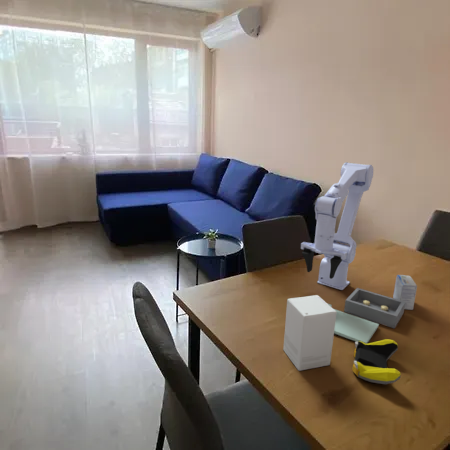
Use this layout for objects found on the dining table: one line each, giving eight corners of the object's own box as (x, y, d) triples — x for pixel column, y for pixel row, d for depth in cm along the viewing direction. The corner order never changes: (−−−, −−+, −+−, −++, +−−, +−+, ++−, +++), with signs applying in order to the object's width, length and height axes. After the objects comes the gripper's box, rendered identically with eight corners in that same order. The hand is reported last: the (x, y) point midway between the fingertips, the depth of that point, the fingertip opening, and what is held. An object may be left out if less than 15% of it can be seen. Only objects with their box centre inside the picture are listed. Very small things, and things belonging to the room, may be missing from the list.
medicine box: (413, 310, 117) (417, 286, 114) (398, 308, 118) (402, 284, 115) (406, 299, 124) (410, 275, 122) (392, 297, 125) (396, 274, 122)
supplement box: (331, 365, 90) (338, 311, 86) (298, 372, 87) (304, 316, 83) (312, 344, 98) (318, 293, 94) (282, 349, 96) (286, 297, 91)
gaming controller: (394, 357, 94) (353, 347, 98) (398, 338, 92) (356, 329, 96) (398, 397, 81) (350, 384, 84) (402, 376, 79) (353, 364, 82)
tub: (344, 311, 115) (345, 300, 114) (355, 298, 123) (357, 287, 122) (394, 328, 106) (396, 316, 105) (403, 313, 115) (405, 301, 114)
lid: (311, 327, 107) (312, 313, 105) (326, 311, 116) (328, 298, 114) (365, 347, 98) (368, 332, 96) (377, 328, 107) (380, 315, 105)
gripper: (298, 232, 116) (294, 272, 120) (342, 243, 108) (337, 284, 112) (307, 227, 121) (303, 265, 125) (351, 237, 113) (345, 277, 117)
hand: (320, 274), depth 119 cm, fingers open, 7 cm apart
